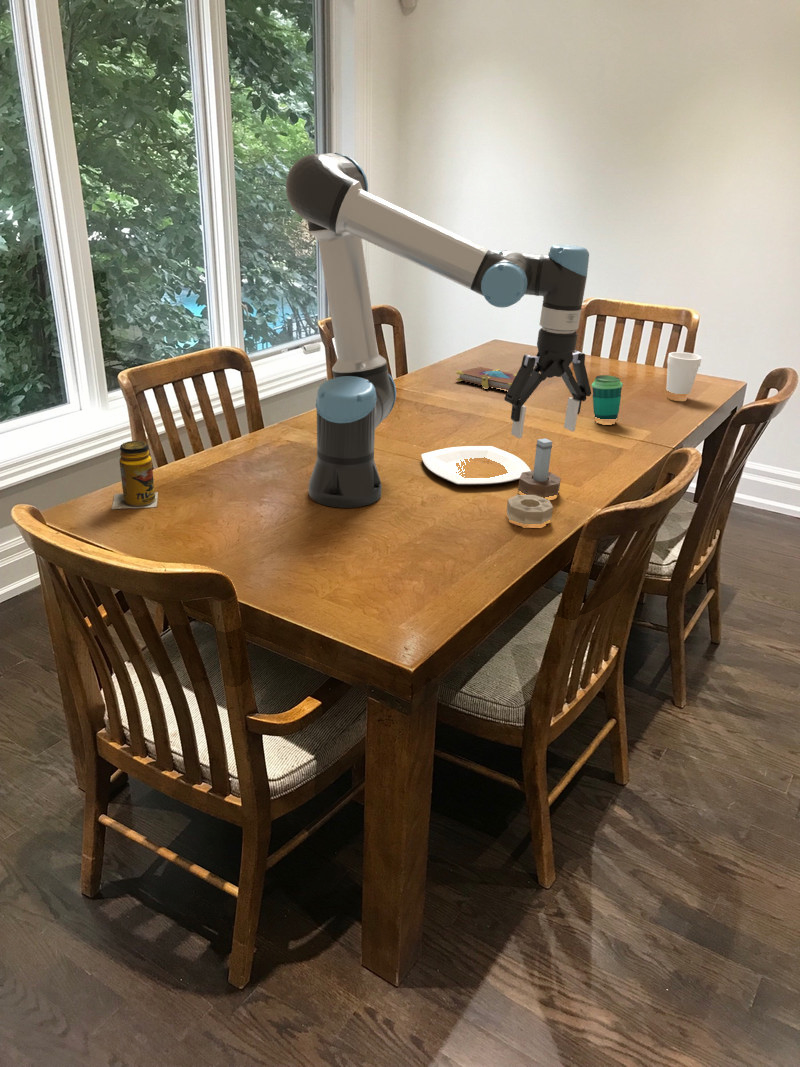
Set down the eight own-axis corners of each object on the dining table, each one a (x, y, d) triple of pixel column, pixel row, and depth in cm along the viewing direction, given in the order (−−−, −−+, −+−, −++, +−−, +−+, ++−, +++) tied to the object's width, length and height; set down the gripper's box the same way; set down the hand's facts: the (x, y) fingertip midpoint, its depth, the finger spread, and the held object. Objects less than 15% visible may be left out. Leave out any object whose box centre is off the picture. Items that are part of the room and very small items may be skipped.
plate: (408, 459, 192) (408, 451, 191) (494, 449, 200) (495, 442, 200) (452, 496, 173) (452, 488, 172) (545, 484, 181) (546, 475, 181)
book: (468, 374, 267) (470, 359, 265) (536, 389, 254) (538, 373, 252) (440, 381, 254) (442, 365, 252) (510, 398, 241) (512, 381, 239)
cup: (605, 428, 218) (611, 384, 212) (580, 420, 223) (586, 377, 218) (622, 423, 223) (630, 379, 217) (598, 415, 228) (604, 372, 223)
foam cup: (696, 398, 247) (705, 355, 242) (688, 405, 240) (697, 361, 235) (665, 392, 252) (673, 350, 246) (656, 399, 245) (664, 356, 239)
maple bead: (534, 532, 158) (536, 515, 156) (499, 519, 163) (500, 502, 161) (557, 520, 163) (559, 503, 162) (522, 507, 168) (524, 491, 167)
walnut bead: (534, 504, 170) (536, 488, 169) (511, 489, 177) (512, 474, 175) (565, 497, 174) (568, 482, 172) (542, 483, 180) (543, 468, 179)
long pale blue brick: (530, 492, 176) (537, 439, 170) (539, 491, 177) (545, 438, 172) (537, 496, 174) (543, 443, 169) (545, 494, 175) (552, 441, 170)
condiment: (156, 507, 161) (151, 450, 156) (111, 510, 160) (104, 451, 154) (158, 493, 168) (152, 437, 163) (114, 495, 166) (107, 439, 161)
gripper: (517, 336, 152) (504, 445, 161) (620, 330, 163) (601, 432, 172) (495, 328, 157) (483, 433, 167) (595, 322, 169) (578, 421, 178)
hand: (543, 432), depth 170 cm, fingers open, 13 cm apart
